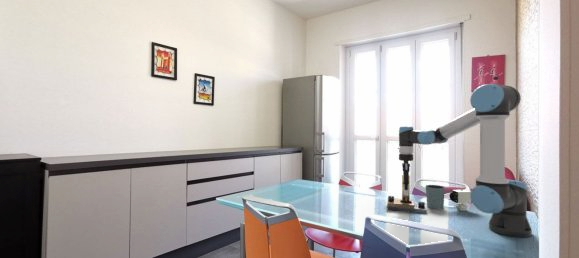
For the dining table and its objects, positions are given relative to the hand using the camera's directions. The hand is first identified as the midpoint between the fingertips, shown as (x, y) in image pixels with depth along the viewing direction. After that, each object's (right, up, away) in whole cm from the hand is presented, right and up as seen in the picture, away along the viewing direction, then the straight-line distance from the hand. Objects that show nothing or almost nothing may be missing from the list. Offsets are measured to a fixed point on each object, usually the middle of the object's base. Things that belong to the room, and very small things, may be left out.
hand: (405, 194), depth 160 cm
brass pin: (0, -3, 0) cm, 3 cm away
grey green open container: (+19, -8, +4) cm, 21 cm away
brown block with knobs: (0, -8, 0) cm, 8 cm away
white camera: (+30, -8, -3) cm, 31 cm away
